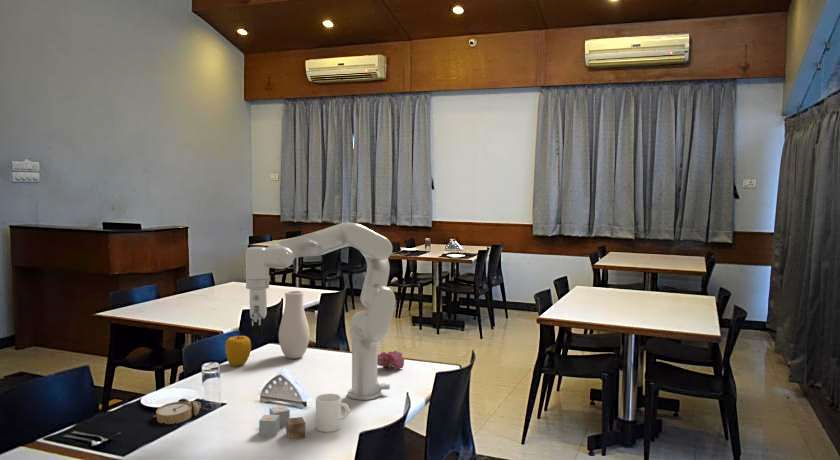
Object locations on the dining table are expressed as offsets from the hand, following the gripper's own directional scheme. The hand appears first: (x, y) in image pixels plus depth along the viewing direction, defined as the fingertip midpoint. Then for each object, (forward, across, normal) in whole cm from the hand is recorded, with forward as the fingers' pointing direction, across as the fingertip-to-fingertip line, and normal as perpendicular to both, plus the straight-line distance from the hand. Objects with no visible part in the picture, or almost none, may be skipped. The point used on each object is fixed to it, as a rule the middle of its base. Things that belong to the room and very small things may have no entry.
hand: (257, 333), depth 205 cm
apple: (+28, +60, +13) cm, 67 cm away
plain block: (+28, -21, -13) cm, 37 cm away
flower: (+28, +45, -52) cm, 74 cm away
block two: (+28, -10, -8) cm, 31 cm away
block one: (+28, -17, -5) cm, 33 cm away
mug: (+28, -17, -25) cm, 41 cm away
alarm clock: (+28, +2, +26) cm, 38 cm away
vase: (+28, +69, -11) cm, 75 cm away
